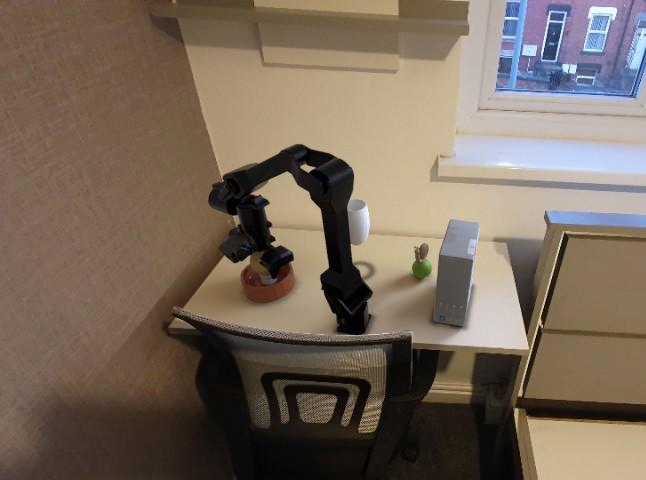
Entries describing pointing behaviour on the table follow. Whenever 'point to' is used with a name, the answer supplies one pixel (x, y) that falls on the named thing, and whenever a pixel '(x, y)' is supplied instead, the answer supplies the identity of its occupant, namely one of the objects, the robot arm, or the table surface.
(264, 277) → the light bulb
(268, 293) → the bowl
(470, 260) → the hard drive box
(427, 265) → the snail figurine
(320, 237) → the table surface
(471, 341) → the table surface
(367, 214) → the cup
